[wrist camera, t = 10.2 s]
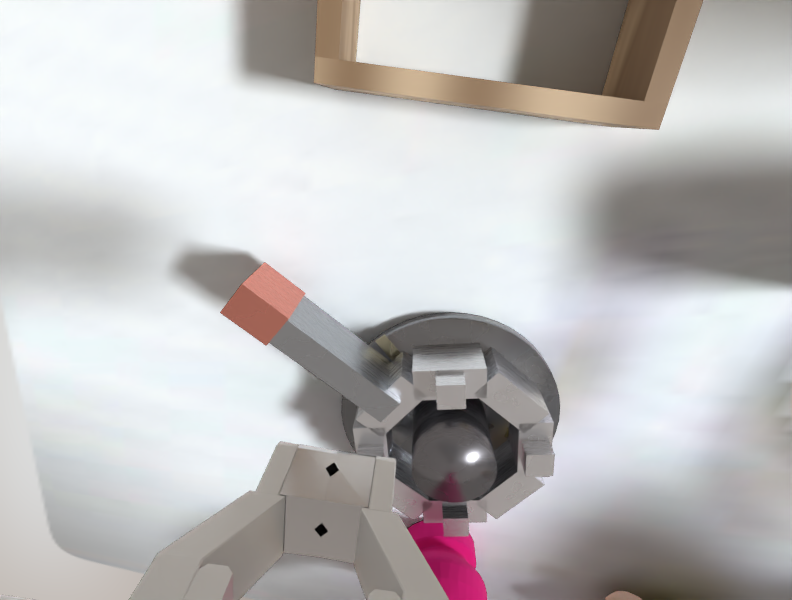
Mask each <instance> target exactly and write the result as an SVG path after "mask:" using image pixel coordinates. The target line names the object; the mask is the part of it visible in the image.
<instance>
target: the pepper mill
mask: <svg viewBox="0 0 792 600" xmlns="http://www.w3.org/2000/svg"><path fill="white" fill-rule="evenodd" d="M408 531H409V533H410V534H411V536H412V538H413V539H414V541H415V543H416V544H417V546H418V548H419V550H420V551H421V553H422V555H423V556H424V558H425V560H426V561H427V563H428V565H429V566H430V568H431V570H432V571H433V573H434V575H435V576H436V578H437V580H438V581H439V583H440V585H441V587H442V588H443V590H444V592H445V593H446V595H447V597H448V598H449V600H487V592H486V588H485V584H484V582H483V580H482V578H481V576H480V574H479V573H478V572H477V571H476V570H475V568H476V557H475V549H474V542H473V539H472V537H471V536H470V534H469V536H455V537H444V531H443V523H424V521H421V522H418V523H416V524H414V525H412V526H411V527H409V528H408Z"/></svg>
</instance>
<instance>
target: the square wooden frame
mask: <svg viewBox="0 0 792 600" xmlns="http://www.w3.org/2000/svg"><path fill="white" fill-rule="evenodd" d="M702 3H703V0H629V1H628V4H627V8H626V11H625V15H624V18H623V22H622V25H621V29H620V32H619V36H618V40H617V43H616V47H615V50H614V54H613V57H612V61H611V64H610V68H609V71H608V75H607V78H606V82H605V85H604V89H603V92H602V95H594V94H587V93H580V92H572V91H565V90H558V89H550V88H543V87H536V86H528V85H521V84H513V83H506V82H499V81H491V80H484V79H477V78H469V77H462V76H455V75H447V74H440V73H433V72H425V71H418V70H411V69H403V68H396V67H388V66H381V65H374V64H366V63H359V62H356V52H357V39H358V26H359V13H360V0H318V1H317V23H316V46H315V69H314V83H316V84H319V85H323V86H326V87H329V88H332V89H336V90H344V91H351V92H358V93H366V94H373V95H380V96H388V97H395V98H403V99H410V100H417V101H425V102H432V103H439V104H447V105H454V106H461V107H469V108H476V109H483V110H491V111H498V112H506V113H513V114H520V115H528V116H535V117H542V118H550V119H557V120H564V121H572V122H579V123H586V124H594V125H601V126H609V127H621V128H638V129H655V130H659V128H660V125H661V122H662V120H663V117H664V114H665V111H666V108H667V105H668V102H669V99H670V96H671V93H672V90H673V87H674V84H675V82H676V79H677V76H678V73H679V70H680V67H681V64H682V61H683V58H684V55H685V52H686V49H687V46H688V44H689V41H690V38H691V35H692V32H693V29H694V26H695V23H696V20H697V17H698V14H699V11H700V8H701V5H702Z"/></svg>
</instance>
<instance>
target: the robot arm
mask: <svg viewBox="0 0 792 600" xmlns="http://www.w3.org/2000/svg"><path fill="white" fill-rule="evenodd" d="M375 459H376V460H375ZM374 466H375V467H374ZM395 472H396V459H395V458H388V457H380V456H372V455H365V454H358V453H350V452H343V451H335V450H330V449H324V448H318V447H313V446H307V445H301V444H300V445H298V444H293V443H287V442H282V441H280V442H279V443H278V444H277V446H276V448H275V450H274V452H273V454H272V456H271V459H270V461H269V463H268V465H267V467H266V469H265V472H264V474H263V476H262V478H261V480H260V483H259V485H258V487H257V489H256V491H248V492H247V493H245V494H244V495H242V496H241V497H239V498H238V499H236V500H235V501H234V502H232V503H231V504H229V505H228V506H226V507H225V508H223V509H222V510H220V511H219V512H217V513H216V514H214V515H213V516H212V517H210V518H209V519H207V520H206V521H204V522H203V523H201V524H200V525H198V526H197V527H195V528H194V529H192V530H191V531H190V532H188V533H187V534H185V535H184V536H182V537H181V538H179V539H178V540H176V541H175V542H173V543H172V544H170V545H169V546H168V547H166V548H165V549H163V550H162V551H160V552H159V553H157V555H156V557H155V558H154V560H153V561H152V563H151V565H150V566H149V568H148V570H147V571H146V573H145V574H144V576H143V578H142V579H141V581H140V583H139V584H138V586H137V587H136V589H135V590H134V592H133V594H132V595H131V597H130V598H129V600H240V598H242V597H243V595H244V594H245V593H246V592H247V591H248V590H249V589H250V588H251V587H252V586H253V585H254V584H255V583H256V582H257V581H258V580H259V579H260V578H261V577H262V576H263V575H264V574H265V573H266V572H267V571H268V570H269V569H270V568H271V567H272V566H273V565H274V564H275V563H276V562H277V561H278V560H279V559H280V558H281V557H282V555H283V553H289V554H297V555H306V556H314V557H321V558H326V559H332V560H337V561H343V562H348V563H353V564H354V568H355V570H356V573H357V576H358V578H359V581H360V584H361V587H362V589H363V592H364V595H365V598H366V600H449V598H448V597H447V595H446V593H445V592H444V590H443V588H442V587H441V585H440V583H439V581H438V580H437V578H436V576H435V575H434V573H433V571H432V570H431V568H430V566H429V565H428V563H427V561H426V560H425V558H424V556H423V555H422V553H421V551H420V550H419V548H418V546H417V544H416V543H415V541H414V539H413V538H412V536H411V534H410V533H409V531H408V529H407V528H406V526H405V524H404V523H403V521H402V519H401V518H400V516H399V514H398V513H394V512H392V506H393V495H394V484H395ZM373 473H374V474H373ZM372 480H373V481H372ZM371 487H372V488H371ZM0 600H34V599H28V598H21V597H15V596H8V595H1V594H0Z"/></svg>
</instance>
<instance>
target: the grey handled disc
mask: <svg viewBox="0 0 792 600" xmlns="http://www.w3.org/2000/svg"><path fill="white" fill-rule="evenodd" d="M304 295H305V293H304V292H303V291H302V290H301V289H299V288H298V287H297V286H295V285H294V284H293V283H291V282H290V281H289V280H287V279H286V278H285V277H284V276H282V275H281V274H280V273H278V272H277V271H276V270H274V269H273V268H272V267H270V266H269V265H268V264H266V263H265V262H264V263H263V264H262V265H261V266H260V267H259V268H258V269H257V270H256V271H255V272H254V273H253V274H252V275H251V276H250V277H249V278H247V279H246V280H245V281H244V282H243V283H242V284H241V286H240V287H239V288H238V290H237V291H236V292H235V293H234V295H233V296H232V297H231V299H230V300H229V301H228V303H227V304H226V305H225V307H224V308H223V309H222V311H221V312H220V313H221V314H223V315H224V316H225V317H227V318H228V319H230V320H231V321H232V322H234V323H235V324H237V325H238V326H239V327H241V328H242V329H244V330H245V331H246V332H248V333H249V334H251V335H252V336H253V337H255V338H256V339H258V340H259V341H260V342H262V343H263V344H265V345H267V344H268V343H270V344H272V345H273V346H275V347H276V348H277V349H279V350H280V351H282V352H283V353H284V354H286V355H287V356H289V357H290V358H291V359H293V360H294V361H295V362H297V363H298V364H300V365H301V366H302V367H304V368H305V369H307V370H308V371H309V372H311V373H312V374H314V375H315V376H316V377H318V378H319V379H321V380H322V381H323V382H325V383H326V384H328V385H329V386H330V387H332V388H333V389H335V390H336V391H337V392H339V393H340V394H342V395H343V396H344V397H346V398H347V399H348V400H350V401H351V402H353V403H354V404H355V405H357V411H356V416H355V420H354V425H353V434H354V441H355V448H356V453H358V454H365V455H372V456H380V457H388V458H395V459H396V472H395V484H394V495H393V507H395V508H396V509H398V510H399V511H401V512H402V513H404V514H405V515H407V516H408V517H410V518H411V519H413V520H415V519H416V518H417V517H418V516H420V515H421V514H422V513H423V520H424V523H443V531H444V537H455V536H469V525H468V522H487V513H489V514H490V515H491V516H493V517H494V518H496V519H497V518H499V517H500V516H502V515H503V514H504V513H506V512H507V511H509V510H510V509H511V508H513V507H514V506H516V505H517V504H518V503H520V502H521V501H522V500H524V499H525V498H527V497H528V496H529V495H531V494H532V493H534V492H535V491H536V490H538V489H539V488H541V487H542V486H543V485H544V482H543V479H542V477H550V476H553V470H554V457H555V454H554V451H553V449H552V439H553V426H554V422H553V420H552V417H551V415H550V413H549V410H548V408H547V406H546V404H545V401H544V399H543V397H542V394H541V393H540V390H539V388H538V386H537V384H536V383H535V382H533V381H532V380H531V379H530V378H529V377H527V376H526V375H525V374H524V373H523V372H521V371H520V370H519V369H518V368H516V367H515V366H514V365H513V364H512V363H510V362H509V361H508V360H507V359H506V358H504V357H503V356H502V355H501V354H500V353H498V352H497V351H496V350H495V349H494V348H492V347H491V346H490V347H489V348H488V349H487V350H486V351H485V352H484V353H483V352H482V348H481V344H480V343H464V344H441V345H419V346H413V357H411V356H410V355H409V354H408V353H406V352H405V351H404V350H403V351H402V352H401V353H400V354H399V355H398V356H397V357H396V358H395V359H394V360H393V361H392V362H390V361H389V360H388V359H386V358H385V357H384V356H382V355H381V354H380V353H378V352H377V351H376V350H374V349H373V348H372V347H370V346H369V345H368V344H367V343H365V342H364V341H363V340H361V339H360V338H359V337H357V336H356V335H355V334H353V333H352V332H351V331H349V330H348V329H347V328H346V327H344V326H343V325H342V324H340V323H339V322H338V321H336V320H335V319H334V318H332V317H331V316H330V315H328V314H327V313H326V312H325V311H323V310H322V309H321V308H319V307H318V306H317V305H315V304H314V303H313V302H311V301H310V300H309V299H307V298H306V297H305V296H304ZM475 398H479V399H480V400H482V401H483V402H484V403H486V404H487V405H488V406H489V407H491V408H492V409H493V410H494V411H496V412H497V413H498V414H500V415H501V416H502V417H503V418H505V419H506V420H507V421H509V437H508V440H507V441H505V442H504V443H503V444H502V445H500V446H499V447H498V448H497V449H495V450H494V455H495V459H496V464H497V476H496V479H495V481H494V483H493V485H492V486H491V487H490V489H489V490H488V491H487V492H485V493H484V494H483V495H481V496H479V497H477V498H475V499H473V500H469V501H465V502H458V503H451V502H444V501H439V500H436V499H434V498H431V497H430V496H428V495H426V494H425V493H423V492H422V491H421V490H420V489H419V488H418V487H417V485H416V484H415V482H414V480H413V476H412V455H410V454H409V453H408V452H406V451H405V450H403V449H402V448H401V447H399V446H398V445H396V444H395V443H394V442H393V437H392V427H394V426H395V425H396V424H397V423H398V422H399V421H400V420H401V419H402V418H403V417H404V416H406V415H407V414H408V413H409V412H410V411H411V410H412V409H413V408H414V407H415V406H416V405H418V404H419V403H420V402H421V401H422V400H437V410H448V409H466V399H475ZM375 460H376V459H375ZM374 467H375V466H374ZM373 474H374V473H373ZM372 481H373V480H372ZM371 488H372V487H371Z"/></svg>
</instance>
